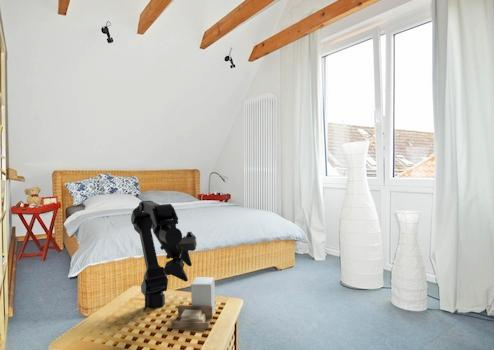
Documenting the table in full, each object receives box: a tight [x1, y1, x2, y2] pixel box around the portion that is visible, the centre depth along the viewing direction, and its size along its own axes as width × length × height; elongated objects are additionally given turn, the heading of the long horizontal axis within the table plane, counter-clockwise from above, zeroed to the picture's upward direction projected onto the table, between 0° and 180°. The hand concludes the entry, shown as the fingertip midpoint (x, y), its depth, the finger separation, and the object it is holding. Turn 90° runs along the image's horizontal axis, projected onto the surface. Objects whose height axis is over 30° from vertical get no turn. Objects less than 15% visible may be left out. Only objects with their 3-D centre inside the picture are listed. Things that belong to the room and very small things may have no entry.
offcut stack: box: [180, 310, 206, 322], centre depth 112 cm, size 8×5×4 cm, turn 85°
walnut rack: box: [171, 304, 213, 330], centre depth 113 cm, size 12×8×5 cm, turn 85°
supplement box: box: [190, 276, 216, 316], centre depth 121 cm, size 7×7×13 cm
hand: (188, 273), depth 120 cm, fingers open, 9 cm apart
